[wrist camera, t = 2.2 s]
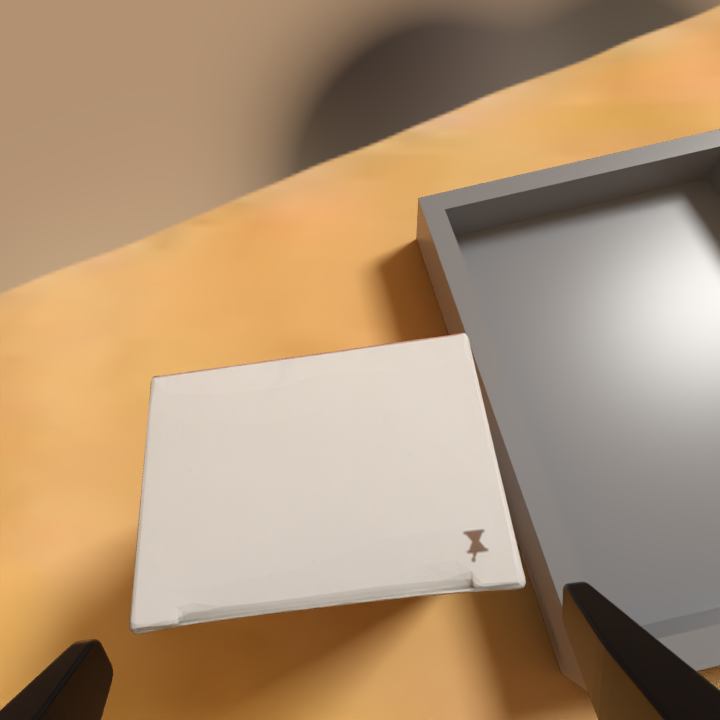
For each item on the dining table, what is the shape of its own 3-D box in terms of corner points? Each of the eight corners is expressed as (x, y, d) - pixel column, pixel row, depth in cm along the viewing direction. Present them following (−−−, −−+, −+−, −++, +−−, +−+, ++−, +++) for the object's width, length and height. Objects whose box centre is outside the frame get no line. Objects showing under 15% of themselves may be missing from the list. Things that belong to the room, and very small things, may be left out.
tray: (988, 570, 17) (1102, 572, 14) (561, 674, 17) (593, 696, 14) (705, 172, 25) (742, 124, 22) (416, 238, 25) (418, 198, 22)
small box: (441, 436, 20) (477, 325, 11) (466, 575, 18) (540, 590, 9) (262, 458, 21) (143, 368, 11) (265, 598, 18) (118, 637, 9)
